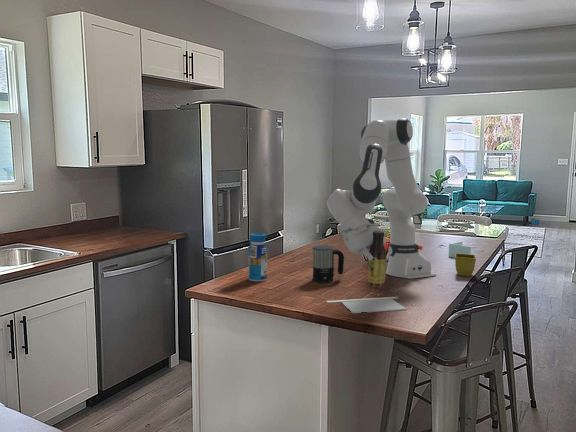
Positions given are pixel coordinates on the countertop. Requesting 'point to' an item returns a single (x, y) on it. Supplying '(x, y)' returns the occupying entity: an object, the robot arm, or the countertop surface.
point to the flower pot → (465, 264)
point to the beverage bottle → (257, 258)
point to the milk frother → (325, 263)
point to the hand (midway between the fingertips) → (378, 257)
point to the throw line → (361, 299)
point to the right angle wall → (458, 249)
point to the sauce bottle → (377, 261)
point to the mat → (373, 306)
